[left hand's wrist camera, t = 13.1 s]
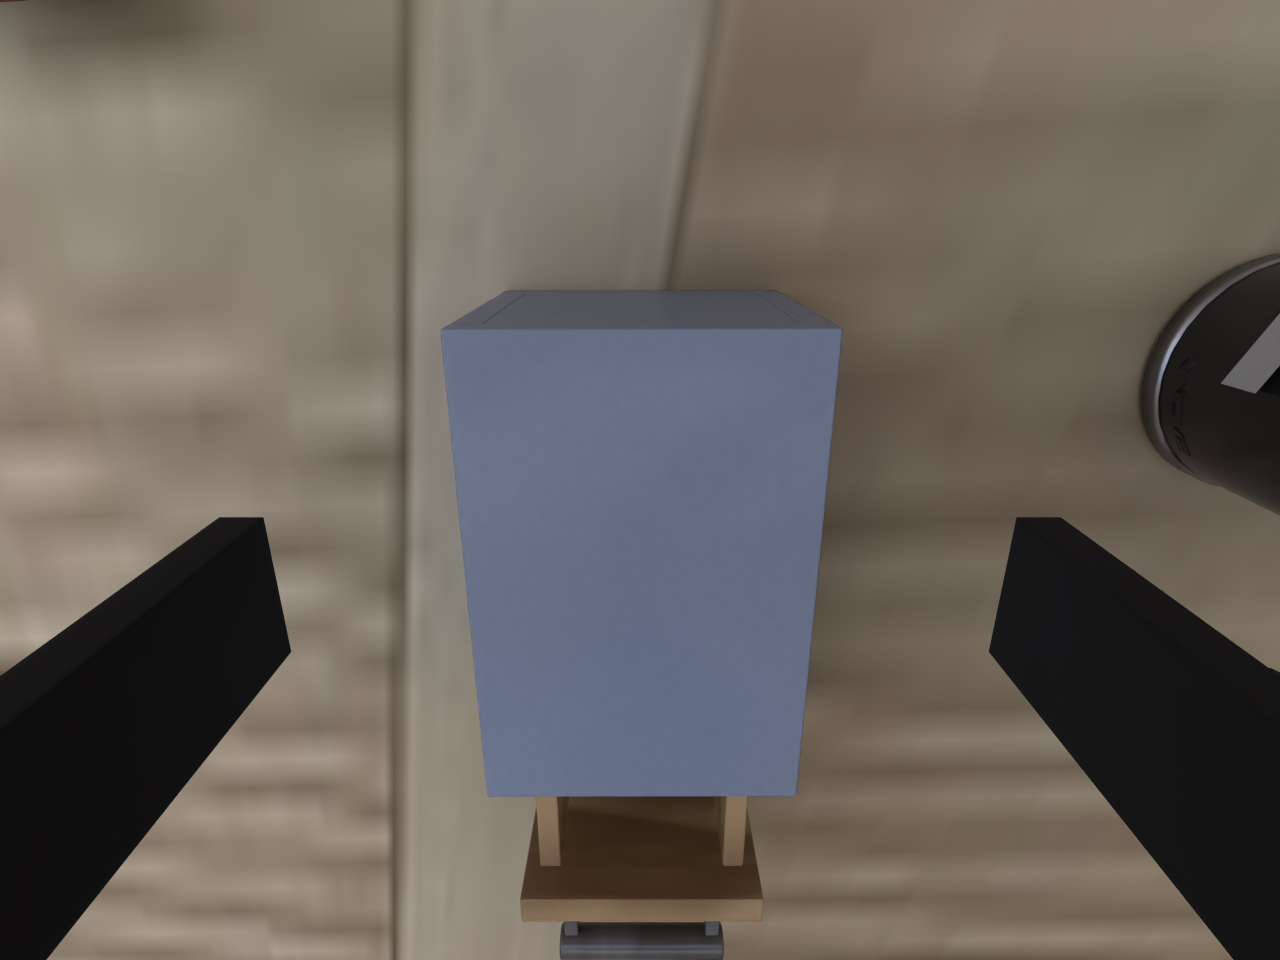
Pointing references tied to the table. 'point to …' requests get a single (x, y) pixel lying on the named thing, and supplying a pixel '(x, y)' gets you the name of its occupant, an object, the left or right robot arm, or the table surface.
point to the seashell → (9, 0)
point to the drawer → (641, 874)
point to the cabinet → (641, 535)
